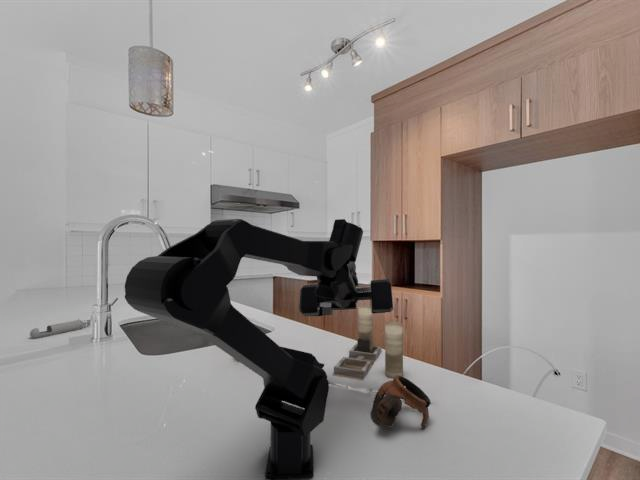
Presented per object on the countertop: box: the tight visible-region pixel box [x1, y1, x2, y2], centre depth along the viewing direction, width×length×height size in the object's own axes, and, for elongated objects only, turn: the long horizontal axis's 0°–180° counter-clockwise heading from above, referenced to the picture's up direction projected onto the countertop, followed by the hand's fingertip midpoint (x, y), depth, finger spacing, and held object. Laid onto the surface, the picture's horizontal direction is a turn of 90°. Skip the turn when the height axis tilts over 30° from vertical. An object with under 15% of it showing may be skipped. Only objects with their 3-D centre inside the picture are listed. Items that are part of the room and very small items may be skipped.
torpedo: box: [29, 319, 92, 339], centre depth 113 cm, size 18×5×7 cm, turn 153°
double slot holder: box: [332, 343, 383, 381], centre depth 82 cm, size 21×7×3 cm, turn 158°
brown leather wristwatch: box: [370, 375, 432, 429], centre depth 56 cm, size 12×10×8 cm
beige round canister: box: [384, 321, 404, 380], centre depth 74 cm, size 4×4×13 cm
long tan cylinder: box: [357, 304, 374, 353], centre depth 87 cm, size 4×4×13 cm
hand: (352, 311), depth 72 cm, fingers open, 9 cm apart
